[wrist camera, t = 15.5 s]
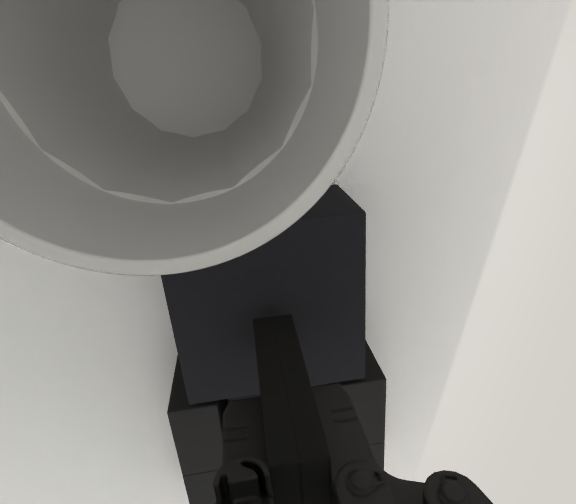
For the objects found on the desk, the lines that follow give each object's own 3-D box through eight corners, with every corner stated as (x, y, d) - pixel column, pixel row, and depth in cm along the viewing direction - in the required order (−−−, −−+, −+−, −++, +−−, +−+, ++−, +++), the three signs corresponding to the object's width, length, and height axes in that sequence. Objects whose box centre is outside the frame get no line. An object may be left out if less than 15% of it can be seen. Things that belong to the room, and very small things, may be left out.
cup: (140, -109, 15) (-120, -668, 4) (323, 27, 17) (494, -64, 6) (56, 95, 17) (-269, 126, 6) (230, 191, 19) (233, 339, 8)
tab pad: (168, 202, 19) (151, 235, 15) (337, 184, 20) (366, 212, 16) (205, 394, 24) (200, 460, 19) (342, 373, 24) (365, 433, 20)
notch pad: (178, 350, 22) (166, 412, 18) (358, 325, 23) (386, 379, 19) (206, 479, 26) (202, 554, 22) (359, 454, 27) (382, 521, 23)
